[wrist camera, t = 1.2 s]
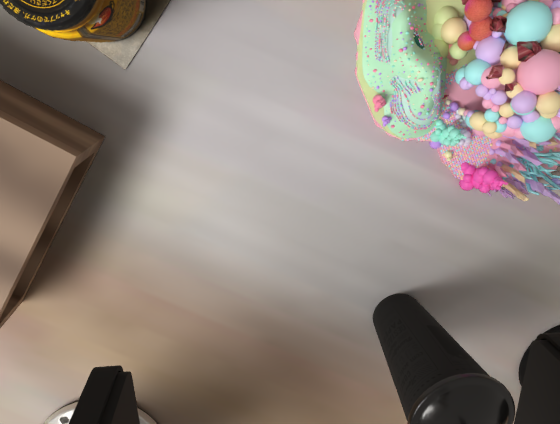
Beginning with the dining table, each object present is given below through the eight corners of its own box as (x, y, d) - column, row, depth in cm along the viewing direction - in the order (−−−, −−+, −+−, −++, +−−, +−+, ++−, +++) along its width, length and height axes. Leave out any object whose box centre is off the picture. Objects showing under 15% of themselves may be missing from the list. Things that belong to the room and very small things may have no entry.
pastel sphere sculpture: (683, -111, 35) (833, -164, 26) (607, 187, 43) (702, 222, 34) (361, -126, 32) (409, -189, 24) (343, 193, 40) (374, 232, 32)
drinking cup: (345, 303, 44) (431, 496, 25) (417, 267, 43) (561, 435, 24) (376, 360, 46) (475, 573, 27) (445, 326, 46) (594, 520, 27)
